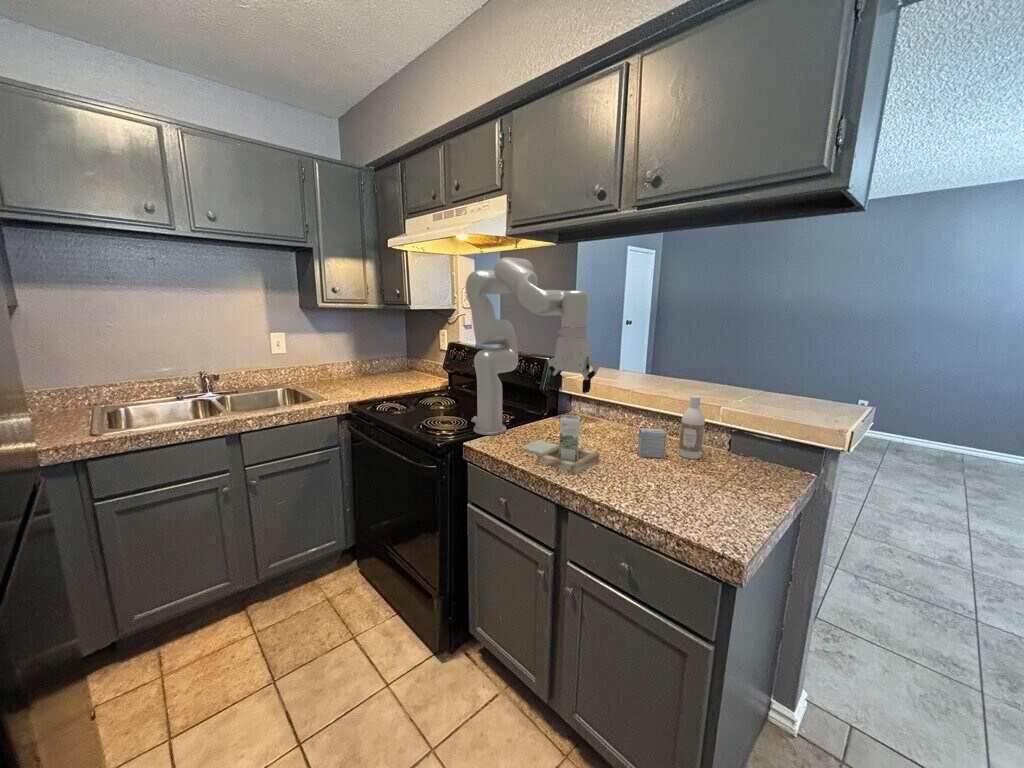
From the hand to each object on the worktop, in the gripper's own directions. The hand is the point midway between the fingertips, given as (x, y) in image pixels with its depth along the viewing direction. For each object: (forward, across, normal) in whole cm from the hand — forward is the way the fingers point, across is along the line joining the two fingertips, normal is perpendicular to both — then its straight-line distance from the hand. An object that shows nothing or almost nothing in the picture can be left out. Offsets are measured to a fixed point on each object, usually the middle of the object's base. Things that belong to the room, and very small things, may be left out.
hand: (571, 390), depth 127 cm
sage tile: (+23, -13, +4) cm, 27 cm away
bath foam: (+23, +28, +30) cm, 47 cm away
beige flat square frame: (+23, 0, 0) cm, 23 cm away
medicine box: (+23, +18, +22) cm, 37 cm away
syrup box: (+23, 0, 0) cm, 23 cm away
